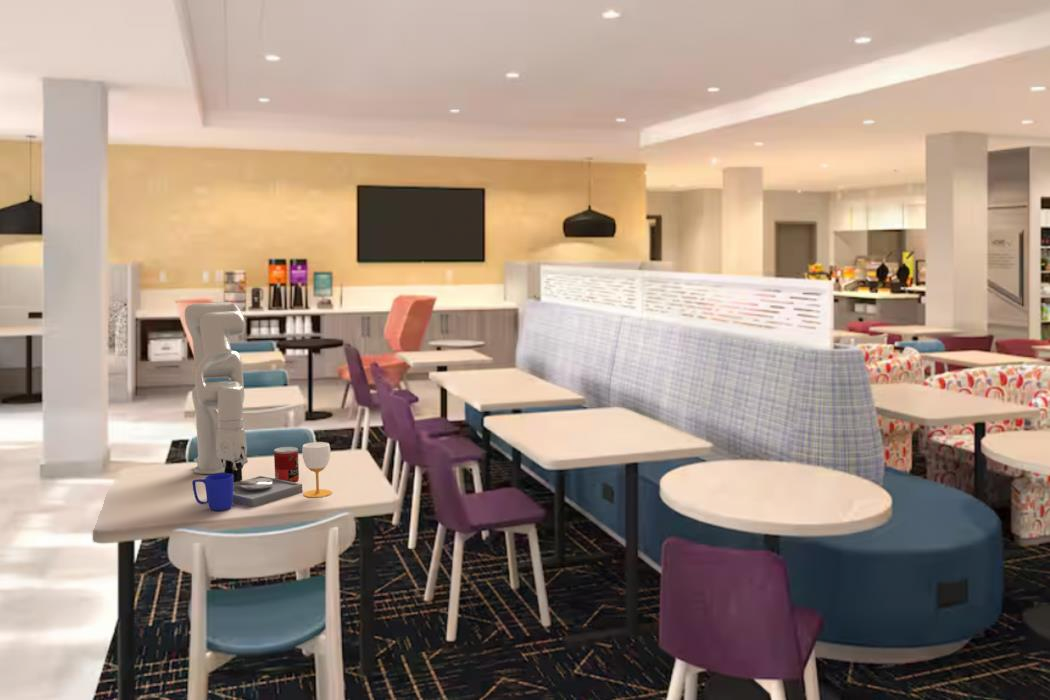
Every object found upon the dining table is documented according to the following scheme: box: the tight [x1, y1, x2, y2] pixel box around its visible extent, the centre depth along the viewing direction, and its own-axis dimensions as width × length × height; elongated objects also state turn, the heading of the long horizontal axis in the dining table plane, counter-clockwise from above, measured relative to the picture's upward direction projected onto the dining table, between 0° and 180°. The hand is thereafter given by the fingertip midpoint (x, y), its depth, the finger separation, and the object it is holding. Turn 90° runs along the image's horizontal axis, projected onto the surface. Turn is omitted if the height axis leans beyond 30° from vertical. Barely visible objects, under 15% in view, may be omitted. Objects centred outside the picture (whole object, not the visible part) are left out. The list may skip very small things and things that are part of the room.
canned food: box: [273, 446, 300, 483], centre depth 300 cm, size 8×8×11 cm
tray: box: [233, 475, 303, 508], centre depth 284 cm, size 20×20×3 cm
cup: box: [301, 441, 333, 499], centre depth 283 cm, size 9×9×16 cm
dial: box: [231, 461, 273, 490], centre depth 284 cm, size 14×10×7 cm
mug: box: [192, 472, 234, 512], centre depth 268 cm, size 8×12×10 cm
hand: (233, 479), depth 285 cm, fingers closed on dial, 3 cm apart
